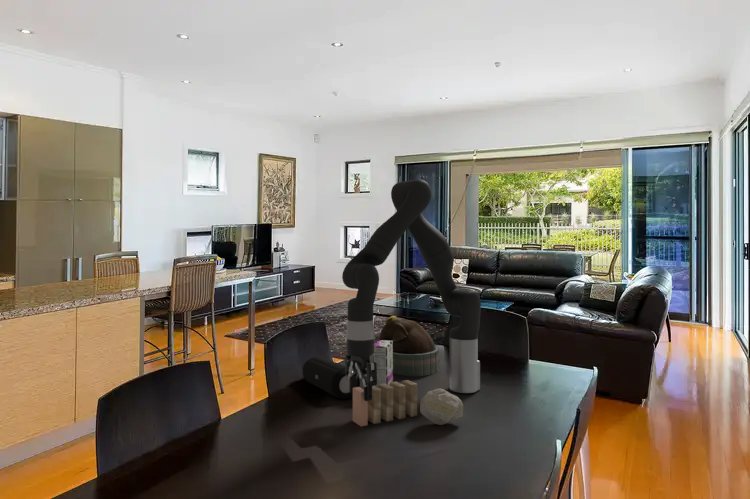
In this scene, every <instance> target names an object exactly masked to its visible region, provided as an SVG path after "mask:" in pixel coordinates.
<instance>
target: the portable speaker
mask: <svg viewBox="0 0 750 499" xmlns="http://www.w3.org/2000/svg"><path fill="white" fill-rule="evenodd" d="M303 363H304V364H303V366H302V371H301V372H302V376H303V378H304V380H305V381H306V382H307V383H309V384H311V385H312V386H315V387H317V388H319V389H320V390H322V391H324V392H325V393H327V394H330V395H331V396H333V397H335V398H338V399H339V400H345V399H350V398H351V399H352V398H353V393H350V392H349V379H348V375H345V365H342V364H341V363H338V362H335V361H332V360H330V359H328V358H325V357H322V356H319V355H315V356H312V357H310V358H308V359H306V360H305V361H304V362H303ZM356 379H358V387H360V388H361V379H360V377H359V376H358V377H357V378H356Z"/></svg>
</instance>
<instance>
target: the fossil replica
mask: <svg viewBox="0 0 750 499" xmlns="http://www.w3.org/2000/svg"><path fill="white" fill-rule="evenodd" d="M464 409H465V408H464V404H463V401H462V400H461V399H460V398H459V397H458V396H457V395H455V394H453V393H451V392H449V391H447V390H446V389H443V388H435V389H434V390H429V391H427V393H426V394H425V395H424V396H423V397H422V398H421V399H420V405H419V412H420V414H422V416H423V417H425V418H426V419H428V420H429V421H430V422H432V423H433V424H434V425H439V426H443V425H445V424H448V423H449V422H450V420H452V421H453V420H456V419H461V418H463V416H464Z"/></svg>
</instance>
